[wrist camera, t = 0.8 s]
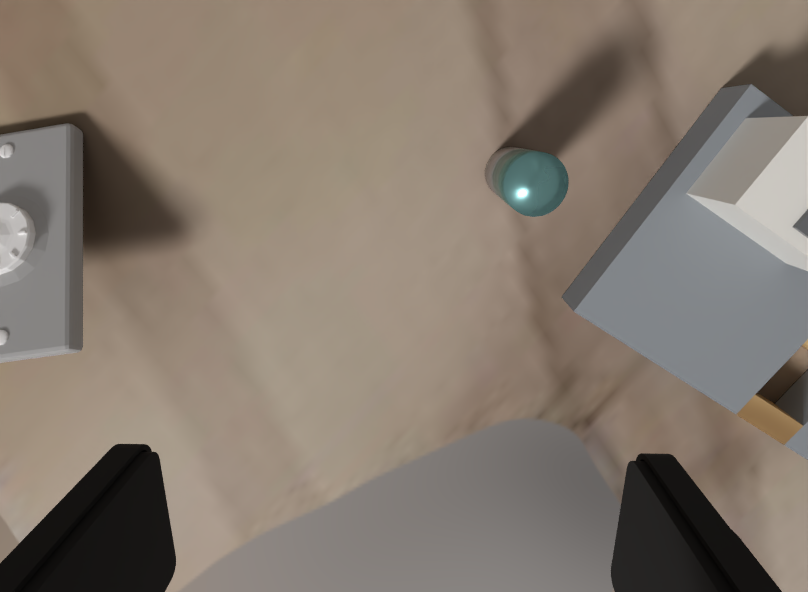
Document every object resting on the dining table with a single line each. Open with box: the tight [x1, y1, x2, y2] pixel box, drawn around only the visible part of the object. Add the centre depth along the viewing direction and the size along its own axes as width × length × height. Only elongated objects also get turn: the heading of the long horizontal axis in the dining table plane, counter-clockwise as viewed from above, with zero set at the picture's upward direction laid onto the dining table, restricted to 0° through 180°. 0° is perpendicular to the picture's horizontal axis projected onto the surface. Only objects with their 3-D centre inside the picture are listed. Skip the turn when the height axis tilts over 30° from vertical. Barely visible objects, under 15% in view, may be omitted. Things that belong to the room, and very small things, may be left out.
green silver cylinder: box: [485, 147, 568, 217], centre depth 30 cm, size 3×3×8 cm
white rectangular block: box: [686, 116, 808, 271], centre depth 28 cm, size 5×8×5 cm, turn 58°
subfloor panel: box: [562, 84, 808, 460], centre depth 34 cm, size 16×22×3 cm
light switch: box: [0, 123, 83, 363], centre depth 33 cm, size 8×6×14 cm
